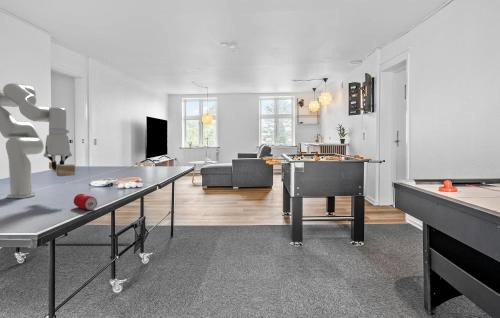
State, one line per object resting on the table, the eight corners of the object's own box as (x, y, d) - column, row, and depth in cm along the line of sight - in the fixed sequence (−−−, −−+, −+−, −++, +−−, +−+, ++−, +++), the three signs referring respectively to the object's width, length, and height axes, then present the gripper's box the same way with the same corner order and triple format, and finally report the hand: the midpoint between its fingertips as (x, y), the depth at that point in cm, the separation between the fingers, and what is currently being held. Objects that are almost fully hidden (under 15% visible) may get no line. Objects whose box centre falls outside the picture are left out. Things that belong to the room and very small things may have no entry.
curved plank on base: (44, 168, 170) (44, 159, 170) (59, 167, 176) (59, 158, 175) (59, 176, 158) (59, 166, 157) (74, 175, 163) (74, 165, 162)
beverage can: (87, 204, 158) (99, 208, 150) (74, 208, 153) (85, 212, 145) (85, 191, 156) (97, 195, 149) (71, 195, 152) (83, 199, 144)
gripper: (71, 132, 174) (72, 167, 176) (36, 131, 162) (37, 169, 164) (77, 133, 169) (77, 169, 171) (42, 132, 157) (42, 171, 159)
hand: (58, 168), depth 167 cm, fingers closed on curved plank on base, 2 cm apart
